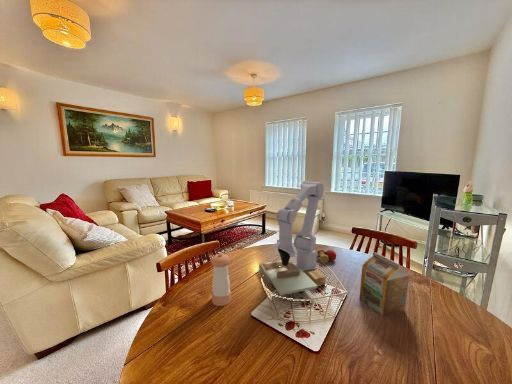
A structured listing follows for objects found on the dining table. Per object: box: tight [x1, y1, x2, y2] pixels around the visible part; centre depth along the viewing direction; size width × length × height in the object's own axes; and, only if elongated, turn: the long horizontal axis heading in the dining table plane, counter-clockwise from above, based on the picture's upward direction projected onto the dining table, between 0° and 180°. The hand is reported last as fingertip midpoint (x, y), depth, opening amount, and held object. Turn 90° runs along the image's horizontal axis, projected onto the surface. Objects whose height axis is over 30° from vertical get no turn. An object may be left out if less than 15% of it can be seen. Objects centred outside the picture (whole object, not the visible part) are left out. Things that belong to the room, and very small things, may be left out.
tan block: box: [307, 269, 326, 286], centre depth 94 cm, size 5×6×4 cm
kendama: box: [316, 248, 337, 264], centre depth 115 cm, size 8×6×18 cm
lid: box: [268, 269, 318, 296], centre depth 89 cm, size 16×14×3 cm
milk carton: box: [359, 252, 410, 318], centre depth 79 cm, size 11×11×19 cm
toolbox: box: [258, 259, 298, 287], centre depth 100 cm, size 16×14×4 cm
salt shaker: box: [210, 252, 232, 307], centre depth 81 cm, size 7×7×19 cm
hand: (284, 265), depth 95 cm, fingers closed
